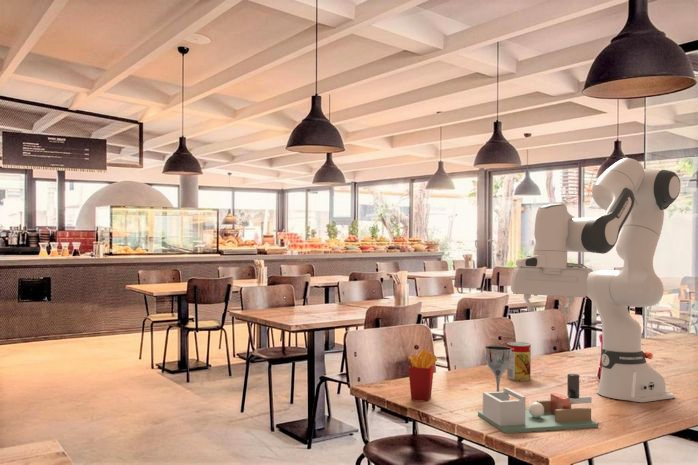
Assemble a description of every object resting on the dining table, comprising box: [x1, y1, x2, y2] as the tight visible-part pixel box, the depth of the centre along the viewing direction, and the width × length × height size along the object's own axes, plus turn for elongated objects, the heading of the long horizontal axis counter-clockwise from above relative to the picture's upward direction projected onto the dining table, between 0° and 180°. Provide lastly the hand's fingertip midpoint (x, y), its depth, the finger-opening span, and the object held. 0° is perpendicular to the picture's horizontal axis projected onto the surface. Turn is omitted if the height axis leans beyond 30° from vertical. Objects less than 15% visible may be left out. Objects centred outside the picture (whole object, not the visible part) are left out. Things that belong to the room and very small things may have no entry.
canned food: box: [506, 341, 532, 382], centre depth 214 cm, size 8×8×12 cm
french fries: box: [407, 348, 438, 402], centre depth 185 cm, size 9×8×15 cm
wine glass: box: [484, 344, 512, 399], centre depth 188 cm, size 8×8×15 cm
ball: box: [528, 401, 544, 418], centre depth 162 cm, size 4×4×4 cm
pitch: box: [477, 387, 599, 434], centre depth 162 cm, size 26×16×8 cm, turn 103°
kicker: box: [550, 373, 592, 414], centre depth 165 cm, size 10×6×10 cm, turn 103°
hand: (548, 312), depth 167 cm, fingers open, 8 cm apart
